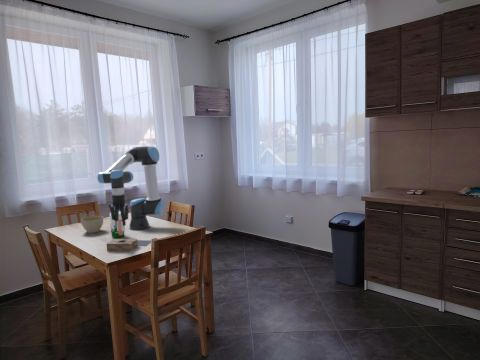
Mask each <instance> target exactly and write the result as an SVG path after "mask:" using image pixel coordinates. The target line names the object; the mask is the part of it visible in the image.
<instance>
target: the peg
mask: <svg viewBox="0 0 480 360" xmlns="http://www.w3.org/2000/svg"><path fill="white" fill-rule="evenodd" d="M121 220H122V219H118V230H119V235H124V236H125V230H124V231H122V228H121Z"/></svg>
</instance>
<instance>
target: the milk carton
mask: <svg viewBox="0 0 480 360" xmlns="http://www.w3.org/2000/svg"><path fill="white" fill-rule="evenodd" d="M114 211H115V208H114ZM118 219H122V217H121V212H120V210H119V218H118ZM109 223H110V232H111V233H110V234H111V237H112V238H113V240H114V239H123V238H125V234H124V235H119V231H117V226H116V224H115V220H112V216H111V212H109Z"/></svg>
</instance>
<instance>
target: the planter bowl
mask: <svg viewBox="0 0 480 360" xmlns="http://www.w3.org/2000/svg"><path fill="white" fill-rule="evenodd" d="M80 221H81V226H82V227H83V229H84V230H85V232H86V233H88V234H94V233H98V232H100V231H101V228H102V226H103V225H104V216H102V215H91V216H85V217H82V218H81V219H80Z"/></svg>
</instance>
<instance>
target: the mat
mask: <svg viewBox="0 0 480 360" xmlns="http://www.w3.org/2000/svg"><path fill="white" fill-rule="evenodd" d="M151 241H152V240H149V239H147V240H140V239H137V242H138V246H137V247H147V246H149V245H150V244H151V243H152V242H151Z"/></svg>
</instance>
